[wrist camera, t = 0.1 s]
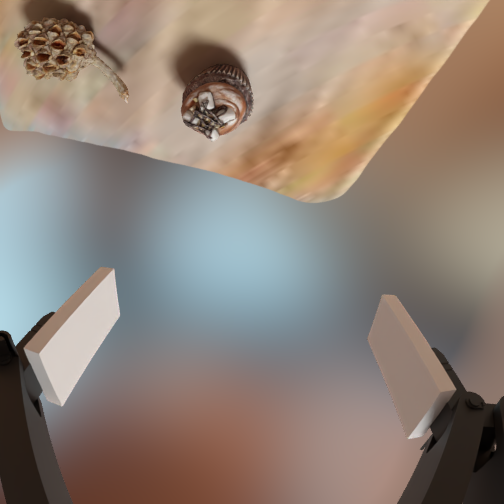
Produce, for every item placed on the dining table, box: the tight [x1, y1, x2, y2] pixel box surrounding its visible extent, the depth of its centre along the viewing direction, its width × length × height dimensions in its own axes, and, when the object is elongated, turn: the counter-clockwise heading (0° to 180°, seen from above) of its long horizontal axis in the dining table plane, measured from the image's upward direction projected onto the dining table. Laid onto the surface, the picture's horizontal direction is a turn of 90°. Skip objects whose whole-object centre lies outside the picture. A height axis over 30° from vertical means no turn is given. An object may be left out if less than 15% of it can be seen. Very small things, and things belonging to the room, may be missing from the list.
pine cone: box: [15, 17, 129, 103], centre depth 29 cm, size 22×10×10 cm, turn 49°
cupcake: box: [181, 64, 253, 141], centre depth 37 cm, size 10×10×10 cm
